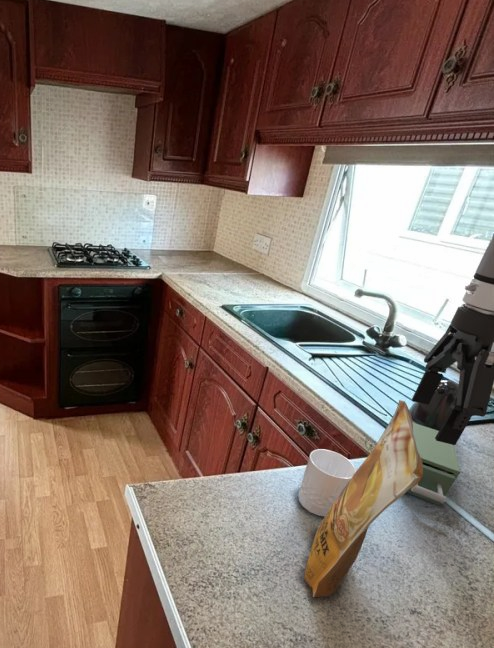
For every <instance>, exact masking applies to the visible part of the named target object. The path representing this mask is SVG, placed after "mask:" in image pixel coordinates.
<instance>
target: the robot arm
mask: <svg viewBox="0 0 494 648" xmlns="http://www.w3.org/2000/svg"><path fill="white" fill-rule="evenodd" d="M464 289H465V293H464V295H463V297H462V301H463V303H461V304H460V305H458V307H457V309H456V311H455V312H454V314H453V317H452V319H451V321H450V324H449V326H447V329H446V330H445V332H444V334H443V335H442V336H441V337H440V339H439V340H438V341H437V342H436V344H434V346H433V347H432V348H431V349H430V350H429V352H428V353H427V354H426V355H425V356H424V358H423V363H425V364H426V365H425V371H424V373H423V374H422V377H421V379H420V381H419V384H418V385H417V388H416V389H415V391H414V394H413V396H412V397H411V400H412V402H413V403H414V402H418V403H423V404H427V405H429V403H430V401H431V399H432V397H433V395H434V393H435V391H436V389H437V387H438V385H439V383H440V381H442V380H443V377H444V374H446V373H447V369H448V368H450V367H451V366H452V365H454V364H456V363H457V364H456V365H457V366H456V368H457V370H458V371H459V378H458V385H459V387H458V396H457V405H453V406H451V409H450V411H449V413H448V415H447V417H446V419H445V420H444V422H443V424H442V426H441V428H440V430H439V432H438V433H437V435H436V437H435V439H436V441H439V442H443V443H447V444H452V445H454V446H456V445H457V443H458V441H459V440H460V438H461V436H462V434H463V433H464V430H465V429H466V428H467V425H468V424H469V422H470V421H471V419H472V417H473V416H477V417H481V418H484V417H486V414H487V412H488V407H489V404H490V399H491V396H492V392H493V386H494V351H492V348H493V345H494V231H493V232H492V233H491V238H490V240H489V243H488V245H487V247H486V249H485V250H484V253H483V255H482V257H481V259H480V260H479V264H478V265H477V268H476V269H475V273H474V275H473V277H472V279H471V281H470V283H469V284H466V285H465V287H464Z"/></svg>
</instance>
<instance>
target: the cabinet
mask: <svg viewBox="0 0 494 648" xmlns="http://www.w3.org/2000/svg"><path fill="white" fill-rule="evenodd" d="M438 432H439V431H437V430H434V429H431V428H428V427H425V426H422V425H419V424H416V423H413V434H414V438H415V442H416V446H417V450H418V453H419V455H420V457H421V460H422V462H424V463H426V464H429V465H432V466H435V467H437V468H440V469H443V470H446V471H449V472H448V474H451V475H454V476H455V481H454V483H453V484H452V486H451V488H450V489H449V491H448V493H449V492H450V490H451V489H452V487H453V486H454V484H455V482H456V480H457V479H458V477H459V476H460V474H461V468H460V463H459V460H458V456H457V455H458V454H457V452H456V445H452V444H447V443H443V442H439V441H436V439H435V437H436V435H437V433H438ZM448 493H447V494H446V496H447V495H448ZM442 504H443V503H441V504H440V505H439V506H442Z"/></svg>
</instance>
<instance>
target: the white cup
mask: <svg viewBox="0 0 494 648" xmlns="http://www.w3.org/2000/svg"><path fill="white" fill-rule="evenodd" d="M357 470H358V469H357V467H356V466H355V465H354V463H353V462H352V461H351V460H350V459H348V458H347V457H345V456H344V455H342V454H341V453H338V452H336V451H333V450H330V449H324V448H319V449H314V450H312V451H311V452H310V453H309V456H308V459H307V463H306V466H305V468H304V473H303V476H302V480H301V483H300V488H299V491H298V493H297V497H298V498H297V499H298V501H299V503H300V505H301V507H303V508H304V509H305V510H307V512H309V513H311V514H314V515H316V516H319V517H325V516H326V515H327V513H328V512H329V510H330V509H331V507H332V506H333V504H334V503H335V501H336V500H337V498H338V497H339V495H340V494H341V492H342V491H343V489H344V488H345V486H346V485H347V483H348V482H349V481H350V479H351V478H352V477H353V475H354V474H355V472H356V471H357Z"/></svg>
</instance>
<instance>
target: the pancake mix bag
mask: <svg viewBox="0 0 494 648" xmlns="http://www.w3.org/2000/svg"><path fill="white" fill-rule="evenodd" d="M409 409H410V408H409V407H408V404H407V402H406V401H405V400H400V399H399V400H398V404H397V407H396V409H395V411H394V414H393V415H392V417H391V419H390V421H389V422H388V424H387V425H386V428H385V429H384V431H383V433H382V434H381V436H380V437H379V440H378V441H377V443H376V444H375V445H374V447H373V449H372V450H371V452H370V453H369V454H368V455H367V457H366V458H365V460H364V461H363V462H362V463H361V465H360V466H359V467H358V468H357V469H356V470H357V471H356V472H355V474H354V475H353V477H352V478H351V479H350V481H349V482H348V483H347V485H346V486H345V488H344V489H343V491H342V492H341V494H340V495H339V497H338V498H337V500H336V501H335V503H334V504H333V506H332V507H331V509H330V510H329V512H328V513H327V515H326V516H323V517H324V518H322V520H321V522H320V523H319V525H318V527H317V530H316V533H315V535H314V539H313V541H312V544H311V548H310V552H309V556H308V558H307V562H306V564H305V571H304V580H303V581H304V582H305V583H306V584H307V585H308V586H309V587H310V589H312V598H319V597H329V596H331V595H332V594H334V593H335V592H336V591H337V589H338V588H339V586H340V585H341V583H342V582H343V580H344V579H345V577H346V576H347V575H348V573H349V572H350V569H351V568H352V567H353V565H354V564H355V562H356V560H357V558H358V555H359V554H360V551H361V549H362V546H363V544H364V541H365V538H366V536H367V533H368V529H369V527H370V526H371V524H373V522H374V521H375V520H376V519H377V518H378V517H379V516H380V515H381V514H382V513H383V512H384V511H385V510H386V509H388V508H389V507H390V506H391V505H392V504H394V503H395V502H397V501H398V500H399V499H400V498H402V497H403V496H404V495H405V494H406V493H407V491H408V490H409V489H411V488H413V487H414V486H416V485H417V484H418V482H419V481H420V479H421V478H422V476H423V463H422V460H421V457H420V455H419V453H418V450H417V446H416V442H415V438H414V434H413V422H412V416H411V413H410V411H409Z"/></svg>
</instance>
